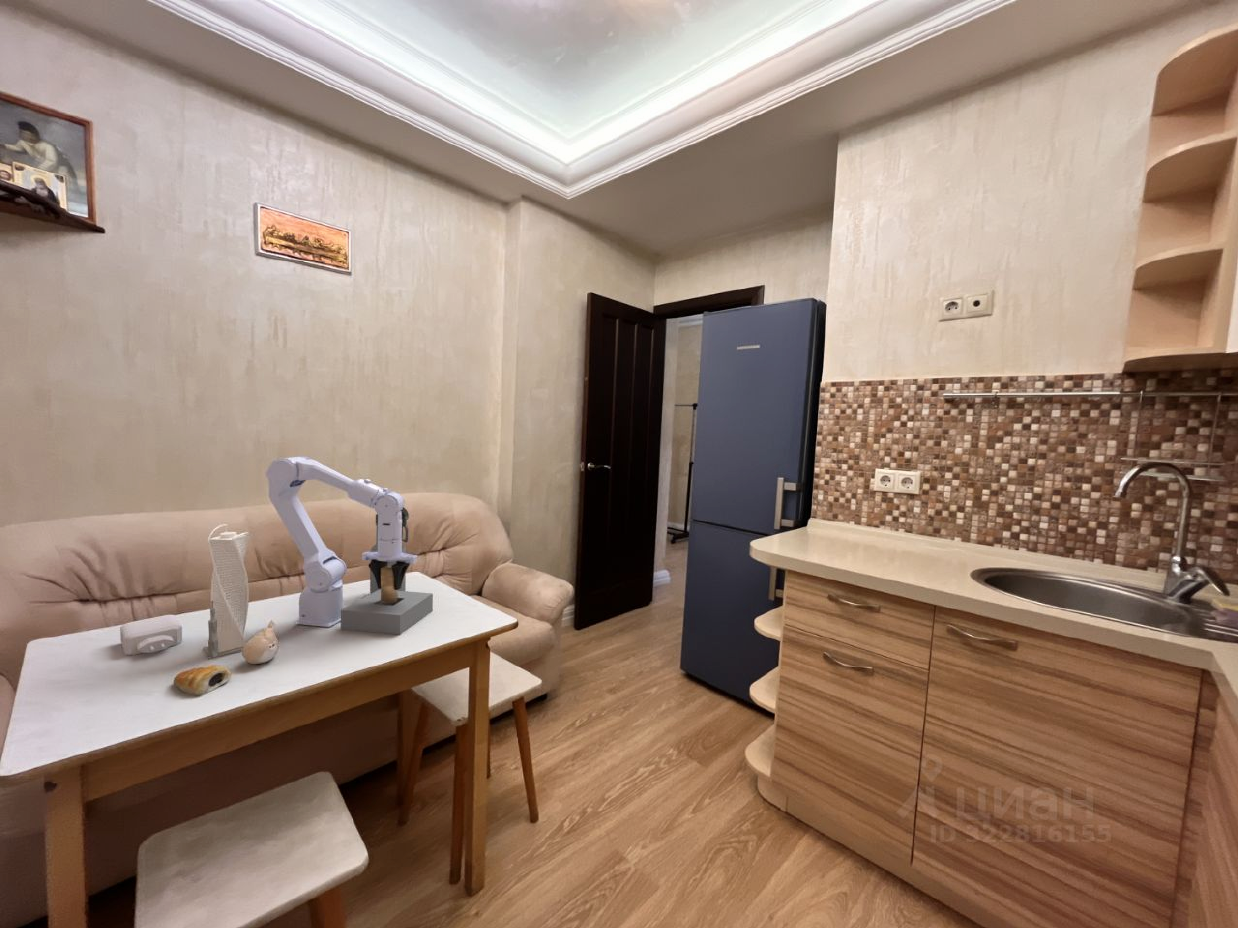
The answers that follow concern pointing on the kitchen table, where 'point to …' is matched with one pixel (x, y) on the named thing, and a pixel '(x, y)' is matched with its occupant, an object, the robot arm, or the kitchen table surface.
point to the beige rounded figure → (261, 646)
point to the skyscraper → (227, 594)
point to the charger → (150, 634)
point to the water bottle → (375, 549)
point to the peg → (388, 586)
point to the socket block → (386, 612)
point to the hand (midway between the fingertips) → (389, 588)
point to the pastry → (202, 679)
